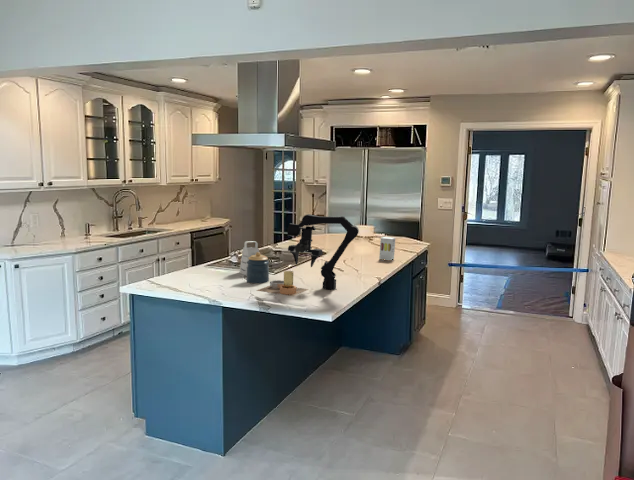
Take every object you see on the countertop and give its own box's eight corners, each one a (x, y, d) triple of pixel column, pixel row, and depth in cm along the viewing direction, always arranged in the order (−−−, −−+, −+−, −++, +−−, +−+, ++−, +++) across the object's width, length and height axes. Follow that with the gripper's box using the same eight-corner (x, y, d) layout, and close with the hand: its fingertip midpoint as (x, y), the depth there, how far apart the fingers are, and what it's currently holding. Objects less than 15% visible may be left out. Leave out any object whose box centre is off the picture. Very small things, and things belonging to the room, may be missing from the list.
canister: (242, 281, 296) (242, 251, 294) (261, 279, 304) (262, 249, 302) (253, 285, 286) (254, 254, 284) (273, 283, 294) (274, 253, 292)
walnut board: (308, 291, 279) (308, 289, 279) (293, 298, 263) (293, 296, 262) (273, 285, 288) (273, 284, 288) (256, 292, 272) (256, 290, 272)
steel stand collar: (288, 286, 282) (288, 281, 282) (280, 289, 275) (281, 284, 275) (275, 285, 286) (275, 279, 285) (267, 287, 278) (267, 282, 278)
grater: (261, 274, 318) (262, 242, 315) (245, 275, 312) (246, 243, 310) (254, 271, 327) (255, 240, 324) (239, 272, 321) (239, 240, 318)
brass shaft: (293, 291, 272) (293, 271, 271) (292, 293, 267) (293, 272, 266) (283, 291, 272) (284, 270, 271) (283, 293, 267) (283, 272, 266)
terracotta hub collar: (298, 291, 272) (298, 286, 271) (291, 295, 265) (291, 289, 264) (284, 289, 275) (285, 284, 275) (277, 292, 268) (277, 287, 268)
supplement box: (378, 260, 384) (380, 237, 382) (382, 258, 393) (383, 236, 390) (391, 261, 381) (392, 238, 378) (394, 259, 389) (395, 237, 387)
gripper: (284, 236, 276) (281, 264, 278) (315, 241, 268) (312, 270, 270) (293, 234, 286) (291, 262, 288) (324, 239, 278) (321, 267, 280)
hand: (303, 265), depth 282 cm, fingers open, 9 cm apart
